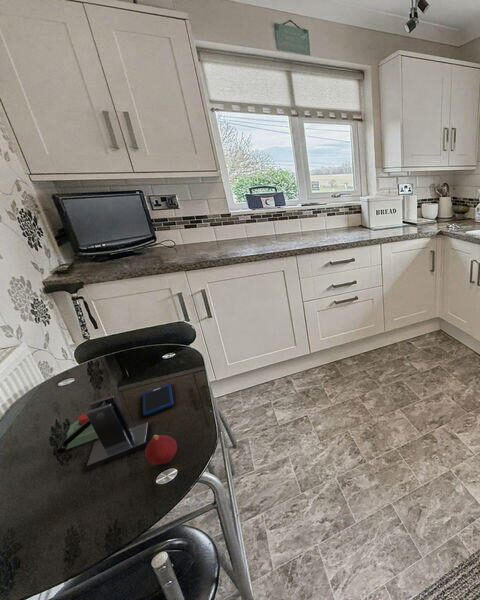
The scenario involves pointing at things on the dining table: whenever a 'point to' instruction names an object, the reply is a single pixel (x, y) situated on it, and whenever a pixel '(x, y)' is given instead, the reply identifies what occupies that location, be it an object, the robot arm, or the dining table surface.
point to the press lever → (75, 434)
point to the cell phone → (157, 400)
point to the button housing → (81, 435)
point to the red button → (82, 419)
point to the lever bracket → (113, 433)
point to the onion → (160, 449)
